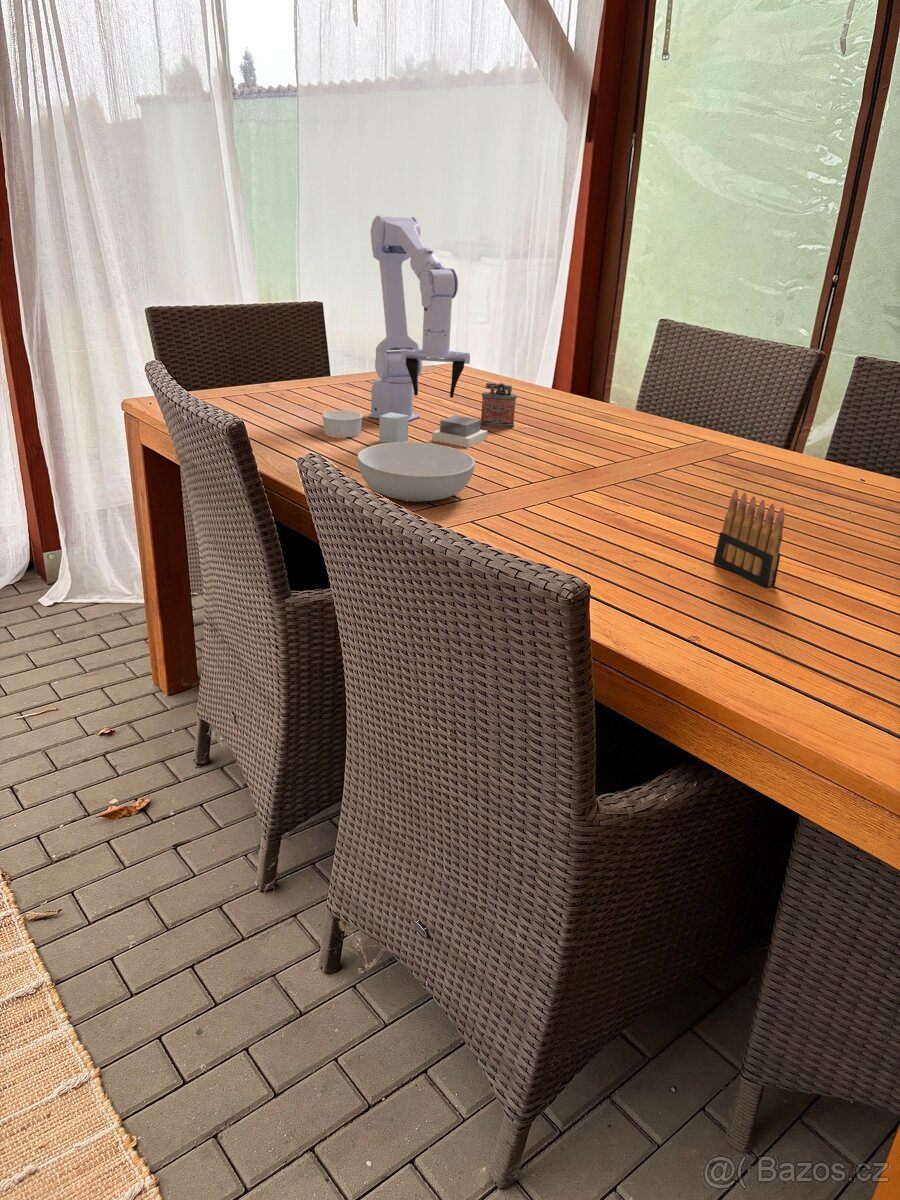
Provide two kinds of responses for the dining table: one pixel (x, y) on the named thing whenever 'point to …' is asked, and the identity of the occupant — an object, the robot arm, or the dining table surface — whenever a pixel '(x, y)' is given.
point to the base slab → (460, 438)
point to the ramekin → (342, 423)
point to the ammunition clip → (750, 541)
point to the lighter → (498, 406)
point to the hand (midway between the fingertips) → (433, 395)
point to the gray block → (393, 428)
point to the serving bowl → (415, 470)
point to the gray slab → (460, 425)
